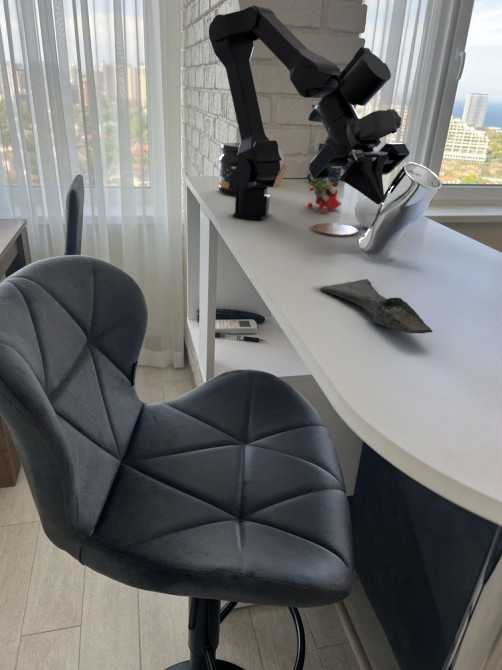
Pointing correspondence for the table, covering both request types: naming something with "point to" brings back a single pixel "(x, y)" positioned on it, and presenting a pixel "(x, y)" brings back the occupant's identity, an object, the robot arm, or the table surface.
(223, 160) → the supplement container
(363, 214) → the white sphere
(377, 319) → the tool
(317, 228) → the coaster
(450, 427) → the table surface
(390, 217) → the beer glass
